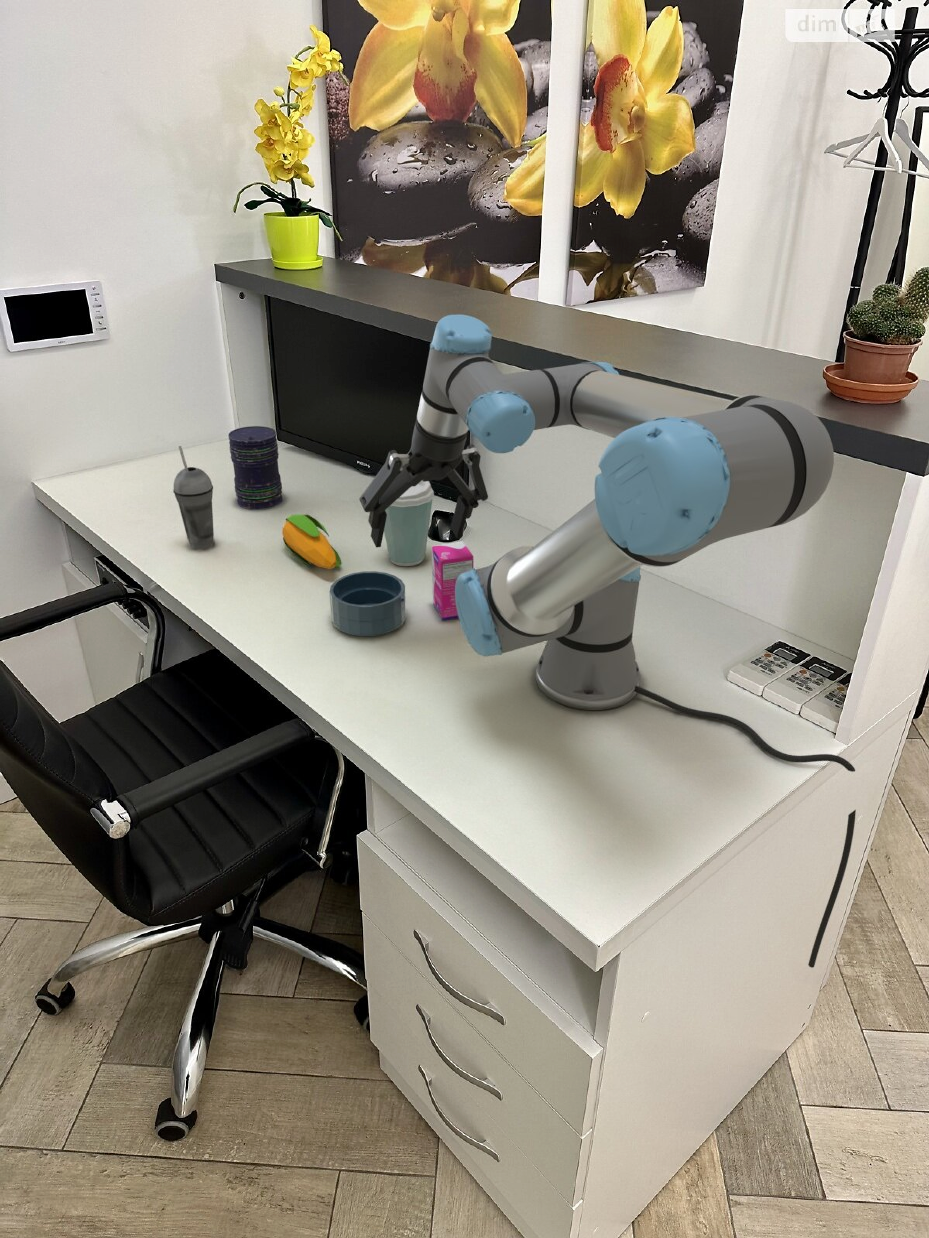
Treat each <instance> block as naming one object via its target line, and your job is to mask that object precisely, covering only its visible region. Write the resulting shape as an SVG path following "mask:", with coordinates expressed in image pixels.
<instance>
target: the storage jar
mask: <svg viewBox="0 0 929 1238" xmlns="http://www.w3.org/2000/svg"><path fill="white" fill-rule="evenodd" d="M228 440H229V442H228V444H229V454H230V459H231V462H232V467H233V472H234V478H233V482H234V492H235V496H236V503H237V505H238V506H239V507H240V508H241V509H242V508H243V509H246V510H251V511H257V510H268V509H271V508H275V507H278V506H279V505H281V504H282V502H283V501H284V500H283V499H284V498H283V495H282V494H283V486H282V485H283V483H282V477H281V474H280V470H279V460H278V459H279V444H278V439H277V431H276V430H275V429H273V428H272V427H268V426H261V425H252V426H251V425H249V426H243V427H238V428H236V429H233V430H231V431H230V432H229V433H228Z"/></svg>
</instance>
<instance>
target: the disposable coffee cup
mask: <svg viewBox="0 0 929 1238" xmlns="http://www.w3.org/2000/svg"><path fill="white" fill-rule="evenodd" d="M434 497H435V492H434V490H433V488H432V485H431V483H430V481H426V482H423V481H421V482H420V483H418V484H417V485H416V486H412V487H410V488H409V489H408V490H407V491H406V492H405V493H404V494H403V495H401V496H400V497H399V498H398V499H397V500H396V501H395V502H394V503H393V504H391V505H390V506H389V507H388V508H387V509H386V510H385V512H386V514H387V518H386V523H385V528H384V533H383V535H384V539H385V543H386V547H387V553H388V557H389V559H390V562H391V563H392V564H393V565H396V566H401V567H413V566H416V565H419V564H421V563H422V562H423V561H424V559H425V557H426V552H427V545H428V539H429V538H428V536H429V530H430V521H431V512H432V505H433V498H434Z"/></svg>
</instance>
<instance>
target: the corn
mask: <svg viewBox="0 0 929 1238" xmlns="http://www.w3.org/2000/svg"><path fill="white" fill-rule="evenodd" d="M319 529H320V530H319ZM321 531H322V532H324V533H325V535H327V537H330V535H329V533H328V531H327V529H326V528H325V526H324V525H323V524H322V523H321V522H320V521H319V520H318V519H316V518H315V517H313V516H311V515H310V514H300V513H299V514H297V513H296V514H292V515H290V516H288V517H286V518H285V522H284V524H283V526H282V531H281V532H282V540H283V544H284V545H285V546H286V548H287V549H288V550H289V551H290V553H292V554H293V555H294V556H295V557H296V558H298V559H299V560H300V561H301V562H303V563H304V564H305V565H307V566H309V567H313V565H315V566H316V567H318V568H323V569H327V570H328V569H329V570H332V569H333V568H335V567H339V568H340V567H341V566H342V564H343V563H342V559H341V557H340V555H339V553H338V551H337V550H336V549H335V548H334V547H333V546H332V544H330V542H329V540H328V538H327V537H326V536H325V535H324V534H323V533H322V532H321Z"/></svg>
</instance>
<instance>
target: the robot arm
mask: <svg viewBox="0 0 929 1238" xmlns="http://www.w3.org/2000/svg"><path fill="white" fill-rule="evenodd" d="M492 338H493V335H492V331H491V328H490V327H489V326H488V325H487V324H486V323H485V322H483V321H482V320H480V319H478V318H477V317H474V316H470V315H467V314H448V315H446V316H443V317H442V318H441V319H439V320H438V322H437V323H436V326H435V330H434V333H433V337H432V340H431V342H430V344H429V352H428V357H427V363H426V368H425V374H424V378H423V385H422V391H421V395H420V399H419V403H418V405H419V406H418V409H417V414H416V419H415V422H414V426H413V427H414V428H413V432H412V437H411V446H410V449H409V451H408V452H407V453H398V452H397V450H395V449H391V450H390V451H388V454H387V456H386V460H385V463H384V464H383V465H382V467H381V468H380V470H379V471H378V472H377V474H376V475H375V476H374V477H373V479H372V480H371V482H370V483H369V485H368V486H367V487H366V489H365V490H364V492H363V493H362V494H361V495H360V497H359V499H358V500H359V502H360V505H361V507H362V509H363V511H364V512H365V513H369V515H368V519H367V521H368V524H369V526H370V528H371V532H370V538H371V540H372V542H373V544H374V546H375V548H381V547H382V543H383V538H384V528H385V523H386V518H387V514H386V512H385V510H386V509H387V508H388V507H389V506H390V505H391V504H393V503H394V502H395V501H396V500H397V499H398V498H399V497H400V496H401V495H403V494H404V493H405V492H406V491H407V490H408V489H409V488H410V487H412V486H416V485H417V484H418V483H420V482H421V481H423V482H426V481H429V482H431V481H443V479H445V478H448V479H449V480H450V481H451V482H452V484H454V486H455V488H457V490H458V491H459V492H460V493H461V495H458V497H457V500H456V504H455V508H454V512H453V515H452V519H451V523H450V529H451V531H452V532H453V534H454V536H455V538H456V539H461V538H462V535H463V532H464V528H465V525H466V520H468V519H470V518H471V517H472V515H473V514H472V513H473V510H474V509H476V508H478V507H479V506H480V504H479V501H483V502H484V501H487V500H488V499H489V495H488V490H487V487H486V484H485V480H484V478H483V473H482V471H481V467H480V464H481V463H480V462H481V454H480V452H479V451H478V450H477V448H476V446H475V445H474V444H471V443H470V444H468V445H467V446H466V441H467V438H468V432H470V433H471V435H472V436H473V437H474V438H476V439H477V440H478V441H479V442H480V444H482V445H483V447H484V448H485V449H486V450H488V451H490V452H492V453H494V454H509V453H511V452H514V450H515V448H517V447H522V446H523V445H524V444H526V442H527V441H528V440H529V439H530V438H531V436H532V434H533V432H534V431H537V430H543V429H549V428H555V427H562V426H568V425H570V426H576V427H578V428H581V429H585V430H589V431H592V432H594V433H595V432H596V433H598V434H601V435H603V436H607V437H610V438H613V439H612V440H611V441H610V443H609V444H608V445H607V447H606V448H605V450H604V452H602V453H603V454H602V455H601V457H600V460H599V463H598V464H597V465H598V468H599V470H600V473H598V474H596V475H595V478H594V499H593V500H591V501H590V502H589V503H588V504H586V505H585V506H583V508H581V509H580V510H579V511H578V512H576V513H575V514H573V516H571V517H570V518H568V519H567V520H566V521H564V522H563V523H562V524H561V525H560V526H558V527H556V529H555V530H553V531H552V532H550V534H548V535H546V537H545V538H543V539H542V540H541V541H539V542H538V543H537V544H535V545H534V546H530V545H525V546H524V545H523V546H519V547H516V548H513V549H511V550H510V551H508V552H506V553H505V554H503V555H502V556H501V557H500V558H498V559H497V560H496V561H495V562H494V563H492V564H490V565H487V566H484V567H480V568H475V567H474V568H473V569H471V570H470V571H467V572H464V573H462V574H461V575H460V576H459V577H458V579H457V581H456V585H455V600H456V608H457V612H458V617H459V618H458V620H459V623H460V626H461V629H462V633H463V634H464V636H465V638H466V640H467V642H468V644H469V645H470V647H471V649H472V650H473V651H474V652H475V653H476V654H477V655H479V656H481V657H485V658H486V657H492V656H497V655H498V656H502V655H503V654H505V653H508V652H513V651H516V650H519V649H523V648H527V647H530V646H533V645H538V644H541V643H544V642H546V643H545V645H544V647H543V650H542V653H541V655H540V657H539V659H538V661H537V664H536V673H535V675H536V676H535V679H536V684H537V686H538V688H539V689H540V691H541V692H542V693H543V694H544V695H545V696H546V697H548V698H549V699H550V700H552V701H554V702H556V703H557V704H560V705H563V706H566V707H570V708H573V709H577V710H584V711H604V710H609V709H610V710H611V709H615V708H618V707H620V706H623V705H625V704H628V703H629V702H631V700H632V699H634V698H635V697H636V695H637V694H639V695H641V696H644V697H646V698H649V699H650V700H653V701H655V702H658V703H659V704H662V705H664V706H665V707H668V708H670V709H672V710H675V711H677V712H680V713H683V714H686V715H688V716H693V717H698V718H704V719H710V720H717V721H721V722H725V723H728V724H730V725H733V726H735V727H736V728H737V727H738V728H739V729H741V730H743V732H745V733H746V734H747V735H749V737H751V739H752V740H754V742H756V744H757V745H758V746H759V747H760V748H761V749H762V750H764V751H765V752H766V753H768V754H769V755H771V756H772V757H775V758H777V759H779V760H782V761H785V762H789V763H800V764H801V763H812V762H813V763H815V762H816V763H817V762H832V763H833V762H834V763H836V764H839V765H841V766H842V767H844V768H845V769H846V770H847V771H849V772H852V773H854V772H856V768H855V767H854V765H853V764H852V763H851V762H849V761H848V760H847V759H845V757H844V758H843V757H842V756H840V755H836V754H830V753H820V754H819V753H817V754H807V755H793V754H788V753H784V752H782V751H779V750H777V749H776V748H773V747H772V746H771V745H769V744H768V743H767V742H766V741H765V740H764V739H763V738H762V737H761V736H760V735H759V734H758V732H756V731H755V730H754V729H753V728H752V727H750V725H748V724H747V723H745V722H743V721H741V720H739V719H738V718H734V717H733V716H729V715H726V714H722V713H716V712H712V711H704V710H699V709H694V708H691V707H687V706H683V705H681V704H678V703H676V702H674V701H671V700H670V699H668V698H666V697H664V696H661V695H659V694H657V693H654V692H652V691H651V690H648V689H645V688H644V687H641V686H640V682H641V673H640V666H639V665H638V664H639V663H638V662H637V659H636V652H635V647H634V644H633V633H634V625H635V617H636V608H637V603H638V594H639V586H640V582H641V580H642V575H641V567H642V566H646V567H652V568H664V567H670V566H673V565H675V564H677V563H679V562H681V561H683V560H684V559H686V558H688V557H690V556H692V555H694V554H696V553H697V552H699V551H701V550H703V549H705V548H706V547H708V546H710V545H713V544H715V543H718V542H720V541H723V540H726V539H730V538H733V537H738V536H741V535H745V534H750V533H754V532H756V531H757V532H758V531H762V530H766V529H769V528H774V527H777V526H782V525H785V524H787V523H790V522H792V521H794V520H796V519H798V518H800V517H801V516H803V515H805V514H806V513H807V512H808V511H810V509H812V507H814V506H815V505H816V504H817V503H818V502H819V500H820V499H821V498H822V497H823V494H824V493H825V492H826V490H827V488H828V486H829V483H830V481H831V478H832V474H833V470H834V466H835V465H834V464H835V454H834V451H835V450H834V446H833V443H832V439H831V437H830V433H829V431H828V430H827V427H826V426H825V425H824V423H823V422H822V421H821V419H820V418H819V417H817V416H816V415H815V414H814V413H813V412H812V411H811V410H809V409H807V408H805V407H803V406H802V405H800V404H797V403H794V402H790V401H785V400H781V399H780V400H779V399H775V398H770V397H766V396H762V395H756V394H746V395H745V394H744V395H742V396H739V397H737V398H735V399H733V400H732V399H727V398H723V397H719V396H714V395H709V394H706V393H705V394H704V393H700V392H697V391H693V390H687V389H683V388H679V387H674V386H670V385H667V384H662V383H658V382H657V383H656V382H653V381H648V380H643V379H640V378H636V377H631V376H626V375H622V374H620V373H619V371H618V370H616V369H615V367H614V366H613V364H611V363H609V362H605V361H596V362H594V361H582V362H580V363H576V364H570V365H564V366H563V365H562V366H556V367H555V366H554V367H549V368H542V369H541V368H540V369H533V370H526V371H525V370H524V371H518V372H509V373H503V372H502V371H501V370H500V369H499V368H498V366H497V365H496V364H495V363H494V362H493V360H492V359H491V358H490V355H489V353H490V351H491V349H492V340H493V339H492ZM465 446H466V449H465ZM462 461H464V463H465V464H466V465H467V467H468V470H469V474H470V477H471V481H472V484H473V487H474V489H470V487H469V486H468V485H467V483H466V482H465V480H464V479H463V478H462V477H461V476H460V474H459V473H458V472H457V470H456V468H457V467H458V466H459V465H460V464H461V463H462ZM412 472H413V473H414V474H415V475H413V474H412ZM856 813H857V809H854V810H853V811H851V812H849V814H848V816H847V825H846V833H845V840H844V843H843V850H842V854H841V858H840V862H839V867H838V870H837V874H836V876H835V880H834V883H833V886H832V889H831V892H830V894H829V898H828V900H827V904H826V907H825V909H824V912H823V915H822V918H821V922H820V924H819V927H818V930H817V933H816V936H815V939H814V943H813V946H812V950H811V953H810V956H809V960H808V963H807V965H808V967H809V968H811V969H813V968H815V966H816V965H815V964H816V961H817V958H818V954H819V951H820V947H821V945H822V942H823V938H824V935H825V933H826V929H827V926H828V923H829V921H830V918H831V916H832V912H833V909H834V907H835V904H836V901H837V898H838V895H839V892H840V889H841V886H842V883H843V879H844V877H845V872H846V870H847V865H848V862H849V857H850V854H851V849H852V844H853V839H854V832H855V824H856Z"/></svg>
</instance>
